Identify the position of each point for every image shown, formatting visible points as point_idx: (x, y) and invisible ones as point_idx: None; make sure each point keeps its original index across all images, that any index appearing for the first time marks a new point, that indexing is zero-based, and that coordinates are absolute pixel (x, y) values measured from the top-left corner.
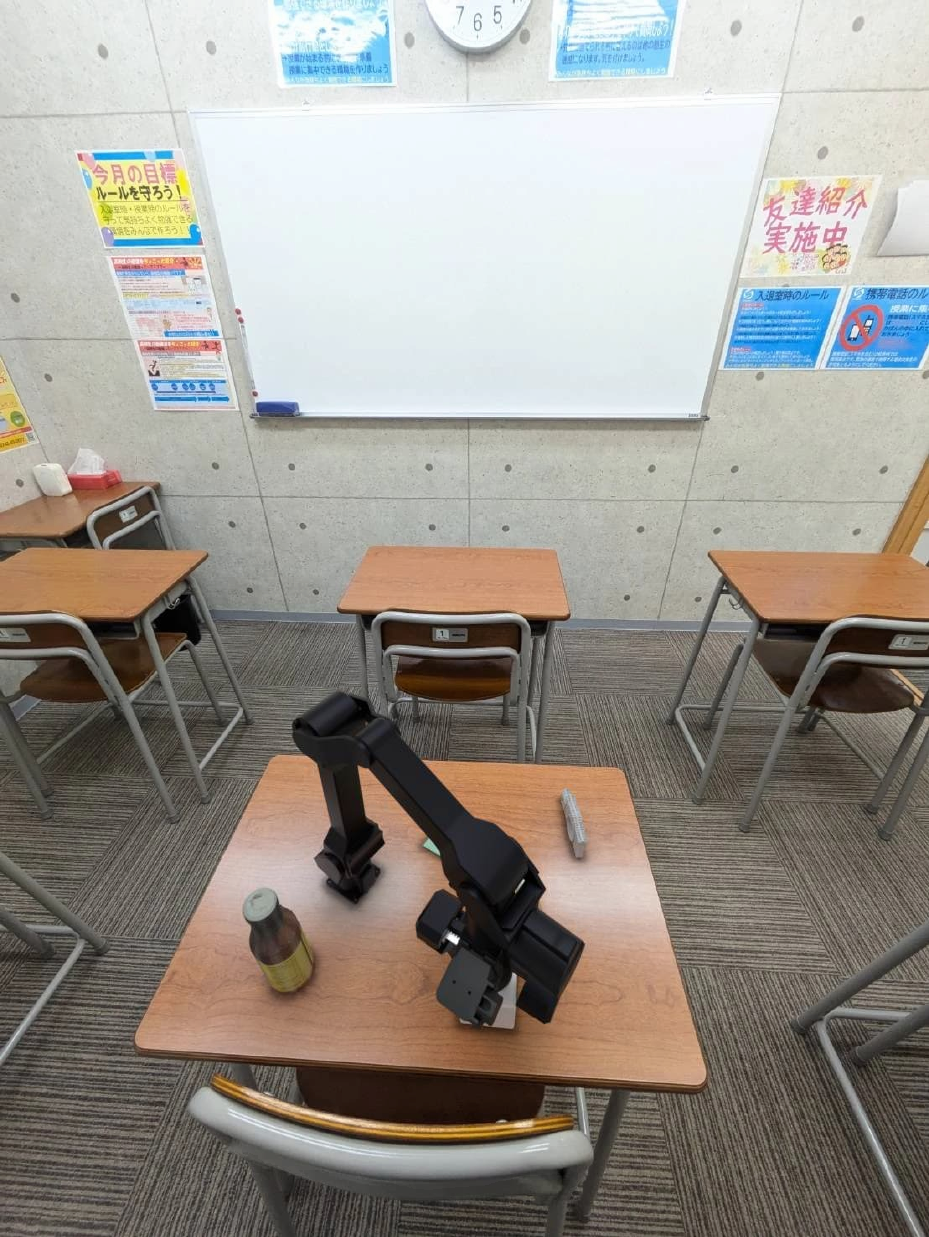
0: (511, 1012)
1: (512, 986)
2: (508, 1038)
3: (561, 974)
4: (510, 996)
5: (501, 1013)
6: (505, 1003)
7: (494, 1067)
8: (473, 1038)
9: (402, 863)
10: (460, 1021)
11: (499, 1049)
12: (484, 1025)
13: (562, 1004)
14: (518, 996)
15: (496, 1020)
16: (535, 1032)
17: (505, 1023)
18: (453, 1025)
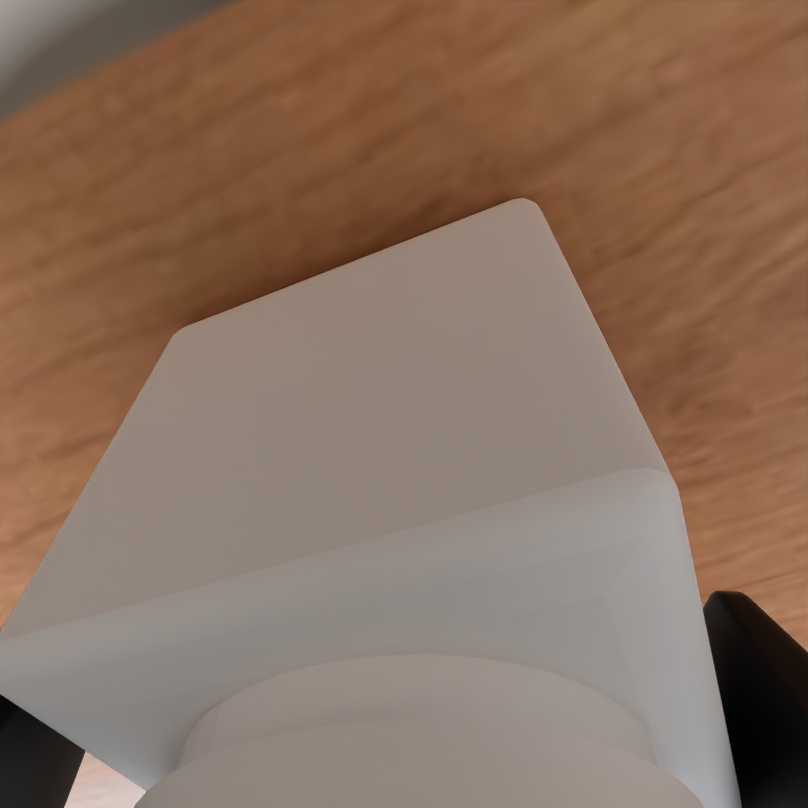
0: (63, 547)
1: (128, 774)
2: (171, 270)
3: None
4: (80, 728)
5: (168, 478)
6: (83, 669)
7: (143, 51)
8: (391, 150)
9: None
10: (531, 203)
11: (183, 182)
12: (350, 264)
13: (31, 526)
14: (36, 721)
15: (249, 358)
16: (54, 371)
17: (193, 360)
18: (574, 151)
